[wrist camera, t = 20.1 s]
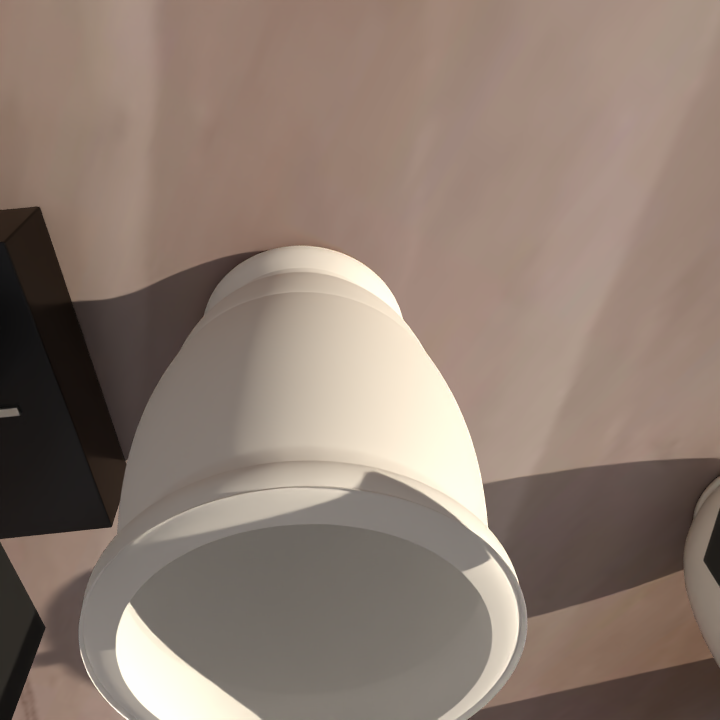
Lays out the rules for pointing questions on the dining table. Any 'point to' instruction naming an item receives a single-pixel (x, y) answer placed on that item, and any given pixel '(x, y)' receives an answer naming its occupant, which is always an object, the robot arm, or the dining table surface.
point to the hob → (48, 397)
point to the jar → (302, 520)
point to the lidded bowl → (704, 569)
